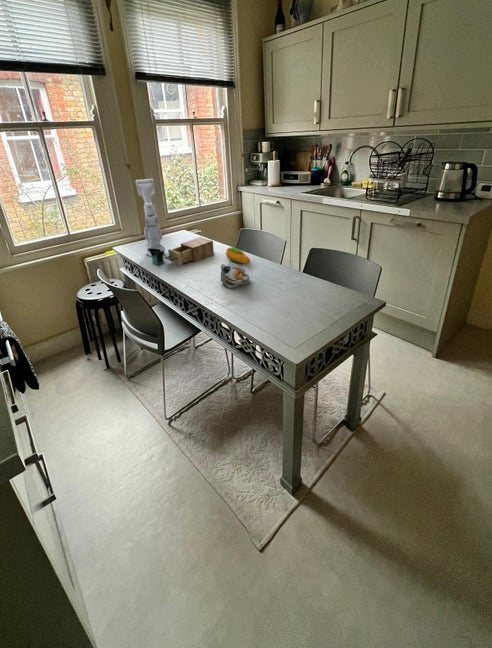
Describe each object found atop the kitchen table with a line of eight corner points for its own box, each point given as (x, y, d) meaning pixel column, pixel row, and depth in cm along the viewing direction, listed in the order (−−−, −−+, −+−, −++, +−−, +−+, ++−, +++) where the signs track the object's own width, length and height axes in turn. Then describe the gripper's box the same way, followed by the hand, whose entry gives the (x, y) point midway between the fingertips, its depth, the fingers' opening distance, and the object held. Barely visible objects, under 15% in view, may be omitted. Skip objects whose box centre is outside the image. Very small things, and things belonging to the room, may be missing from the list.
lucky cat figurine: (254, 279, 152) (256, 261, 141) (242, 298, 146) (243, 280, 135) (227, 267, 157) (227, 248, 145) (214, 284, 150) (213, 266, 139)
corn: (232, 242, 180) (255, 251, 165) (233, 255, 184) (256, 264, 169) (221, 246, 176) (244, 256, 162) (223, 259, 180) (245, 269, 165)
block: (152, 263, 178) (151, 256, 176) (159, 260, 181) (158, 253, 179) (157, 265, 175) (156, 257, 174) (163, 262, 178) (162, 255, 176)
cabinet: (194, 262, 177) (193, 247, 173) (182, 257, 184) (180, 243, 181) (214, 254, 186) (212, 240, 183) (201, 250, 194) (199, 237, 190)
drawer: (174, 267, 168) (172, 256, 166) (163, 263, 175) (161, 251, 172) (199, 258, 180) (198, 246, 177) (188, 254, 186) (187, 243, 184)
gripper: (140, 237, 174) (144, 259, 180) (155, 242, 165) (159, 265, 170) (151, 233, 179) (155, 256, 184) (166, 238, 169) (169, 262, 175)
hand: (157, 260), depth 178 cm, fingers closed on block, 4 cm apart
